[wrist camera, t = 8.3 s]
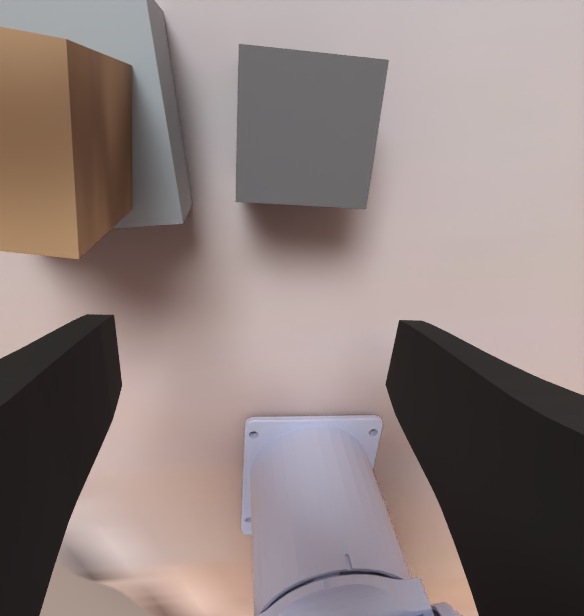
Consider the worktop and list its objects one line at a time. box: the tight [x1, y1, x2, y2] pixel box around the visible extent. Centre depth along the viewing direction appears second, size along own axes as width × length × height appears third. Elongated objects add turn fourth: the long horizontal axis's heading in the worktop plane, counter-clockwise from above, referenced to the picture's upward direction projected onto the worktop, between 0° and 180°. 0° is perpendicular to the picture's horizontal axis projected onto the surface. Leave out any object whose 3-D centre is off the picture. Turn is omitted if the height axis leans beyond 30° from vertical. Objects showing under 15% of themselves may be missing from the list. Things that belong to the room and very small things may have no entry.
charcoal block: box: [236, 44, 389, 209], centre depth 15 cm, size 4×4×4 cm
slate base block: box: [0, 0, 192, 229], centre depth 15 cm, size 7×7×4 cm
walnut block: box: [0, 27, 132, 259], centre depth 11 cm, size 4×4×6 cm
